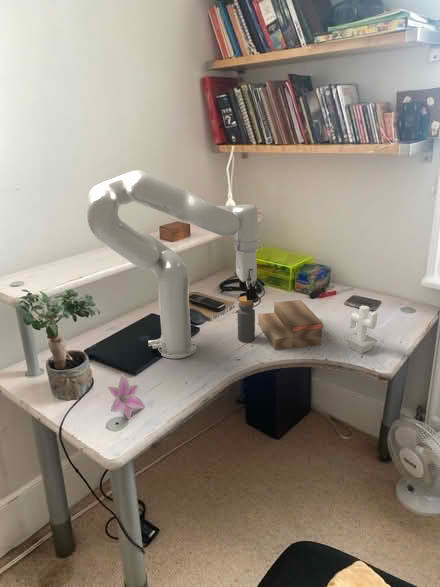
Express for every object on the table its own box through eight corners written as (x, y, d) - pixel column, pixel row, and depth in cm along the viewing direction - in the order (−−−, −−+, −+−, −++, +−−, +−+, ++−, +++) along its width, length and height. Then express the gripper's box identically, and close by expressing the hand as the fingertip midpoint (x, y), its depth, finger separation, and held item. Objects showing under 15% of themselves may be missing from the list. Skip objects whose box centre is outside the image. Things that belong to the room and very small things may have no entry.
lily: (106, 430, 115) (118, 407, 111) (91, 397, 121) (102, 374, 117) (143, 423, 123) (156, 402, 119) (127, 393, 129) (139, 371, 125)
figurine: (356, 340, 154) (360, 299, 148) (379, 351, 146) (384, 308, 141) (341, 346, 150) (344, 304, 144) (364, 358, 143) (368, 314, 137)
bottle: (235, 340, 156) (234, 300, 150) (242, 333, 161) (241, 294, 155) (250, 344, 153) (250, 303, 148) (257, 336, 158) (257, 296, 152)
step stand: (275, 351, 148) (275, 328, 145) (258, 324, 167) (258, 304, 164) (321, 345, 151) (323, 323, 148) (299, 319, 170) (300, 299, 167)
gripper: (228, 238, 152) (231, 286, 158) (241, 253, 136) (242, 305, 142) (250, 236, 153) (252, 284, 159) (265, 250, 137) (266, 303, 144)
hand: (247, 294), depth 151 cm, fingers open, 9 cm apart
